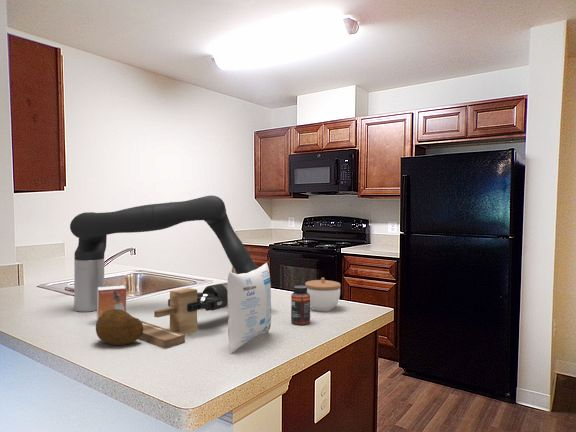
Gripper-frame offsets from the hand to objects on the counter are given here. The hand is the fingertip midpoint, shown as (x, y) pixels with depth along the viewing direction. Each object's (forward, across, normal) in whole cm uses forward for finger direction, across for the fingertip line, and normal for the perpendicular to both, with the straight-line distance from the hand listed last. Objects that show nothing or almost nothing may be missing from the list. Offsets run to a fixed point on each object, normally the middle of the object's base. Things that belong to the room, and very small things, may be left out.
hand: (178, 305), depth 111 cm
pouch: (-8, +20, +8) cm, 23 cm away
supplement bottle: (-31, +20, +8) cm, 38 cm away
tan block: (+1, 0, +8) cm, 8 cm away
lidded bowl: (-50, +16, +8) cm, 53 cm away
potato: (+15, -6, +8) cm, 18 cm away
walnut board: (+6, -6, +8) cm, 12 cm away
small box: (+5, -26, +8) cm, 28 cm away
